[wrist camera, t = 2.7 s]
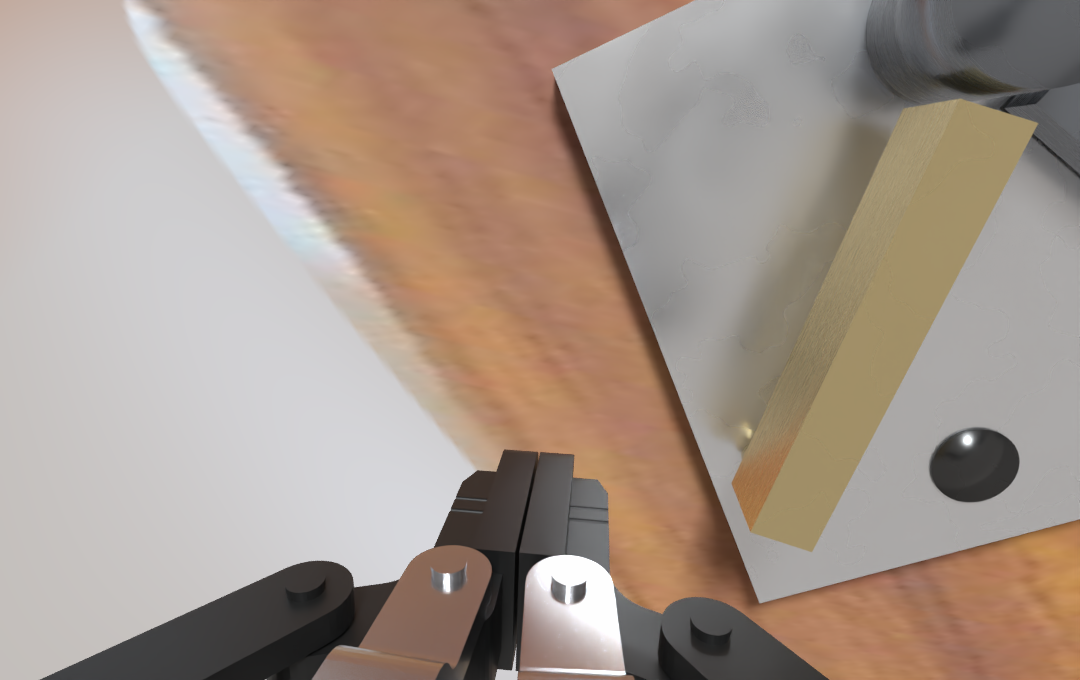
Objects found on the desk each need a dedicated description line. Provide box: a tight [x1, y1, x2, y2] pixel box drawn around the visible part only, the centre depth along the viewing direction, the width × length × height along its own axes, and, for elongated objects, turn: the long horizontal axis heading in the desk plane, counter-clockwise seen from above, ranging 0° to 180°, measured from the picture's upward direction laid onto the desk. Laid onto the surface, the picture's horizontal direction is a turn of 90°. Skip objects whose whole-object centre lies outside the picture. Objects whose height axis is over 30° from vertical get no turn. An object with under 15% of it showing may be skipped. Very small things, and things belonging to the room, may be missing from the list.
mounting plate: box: [552, 0, 1080, 603], centre depth 15 cm, size 18×18×5 cm
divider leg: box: [731, 99, 1038, 552], centre depth 15 cm, size 10×2×4 cm, turn 163°
